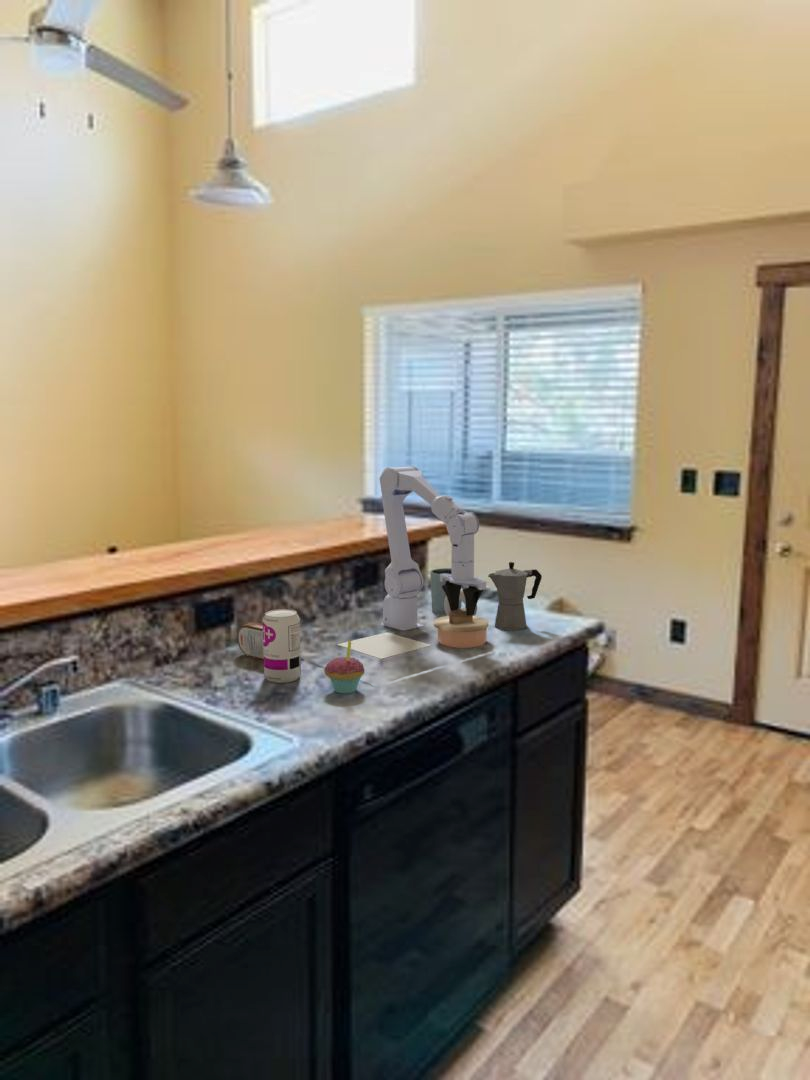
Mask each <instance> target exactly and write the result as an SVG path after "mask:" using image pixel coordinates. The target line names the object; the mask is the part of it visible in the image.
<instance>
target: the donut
mask: <svg viewBox="0 0 810 1080" xmlns="http://www.w3.org/2000/svg"><path fill="white" fill-rule="evenodd" d="M463 589H464V588H463ZM463 589H461V591H460V596H459V600H460V601H461V602H462V603H463V604H464V606H465V607H464V608H466V601H465V596H464V593H463ZM444 610H445V612H446V614H445V616H449V611H451V610H450V606H449V602H448V599H447V596H446V598H445V601H444ZM477 611H478V604H477V605H476V608H475V612H474V615H473V616H476V615H477V614H478V613H477Z"/></svg>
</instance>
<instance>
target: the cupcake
mask: <svg viewBox="0 0 810 1080" xmlns="http://www.w3.org/2000/svg"><path fill="white" fill-rule="evenodd" d="M351 641H352V638H351V637H350V638H349V640H348V641H347V642H348V648H346V650H347V651H346V656H345V657H344V656H342V657H341V656H339V657H335V658H333V659H332V660H331V661H328V663H327V664H326V666H324V670H323V671H324V675H325V676H326V677H327V678H329V680H330V681H331V684H332V687H333V690H334V692H336V693H338V694H352V693H355V692H356V691H357V690H358V687H359V686H358V685H359V683H360V681H361V678H362V676H363V675H364V674H365V667H364V664H363V663H362V662H361V661H360V660H359V659H356V658H355V657H351V651H352V649H351Z"/></svg>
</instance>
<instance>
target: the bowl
mask: <svg viewBox="0 0 810 1080" xmlns="http://www.w3.org/2000/svg"><path fill="white" fill-rule="evenodd" d="M437 642H439V644H440V645H442V646H446V647H449V648H458V649H459V648H461V649H464V648H465V649H466V648H468V649H469V648H476V647H480V646H483V645H485V644H486V642H487V628H486V629H483V630H479V631H473V632H452V631H445V630H441V629H438V628H437Z"/></svg>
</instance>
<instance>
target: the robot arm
mask: <svg viewBox="0 0 810 1080" xmlns="http://www.w3.org/2000/svg"><path fill="white" fill-rule="evenodd" d="M423 473H424V472H423V471H421V470H420V469H419V468H418V467H417V466H416V465H415V466H414V465H410V466H402V467H401V466H399V467H398V466H397V467H390V466H389V467H386V468H384V469H383V471H382V473H381V475H380V477H379V478H378V479H379V484H380V491H381V501H382V509H383V514H384V520H385V521H384V522H385V527H386V534H387V535H386V536H387V540H388V541H387V542H388V546H389V547H388V548H389V554H390V563H389V564H388V566H387V567H386V568H385V570H384V575H385V577H384V578H385V579H384V589H385V590H386V593H387V595H386V596H385V597H384V598H383V602H382V623H381V625H382V626H386V627H389V628H393V629H396V630H400V631H408V630H412V629H416V628H419V627H420V628H421V627H424V626H425V625H424V624H421V623H419V622H418V595H420V591H421V590H422V589H423V588H424V587H423V586H424V577H423V575H422V572H421V571H420V570H421V569H420V565H419V564H418V562H416V561H414V560H413V559H412V556H411V550H410V541H409V537H408V530H407V529H408V528H407V524H406V523H407V522H406V517H405V511H404V501H405V499H406V498H407V497H408V496H409V495H411V494H412V493H415V494H416V495H418V496H419V497H420V498H422V499H423V500H424V501H425V502H426V503H428V504H429V505H430V506H431V507H430V508H431V512H432V514H433V515H435V516H436V517H437V518H438V519H439V520H440V521H442V523H444V525H445V526H446V527H445V528H446V530H447V532H448V535H449V541H450V543H451V561H450V562H451V567H450V568H451V574H446V573H444V574H440V582H446V583H445V585H442V588H443V590H444V592H445V594H446V596H447V599H448V602H449V606H450V610H451V611H454V610H458V608H459V596H460V591H461V587H462V585H463V586H465V587H467V588H463V593H464V596H465V601H466V614H467V616H470V615H474V612H475V608H476V605H477V606H478V602H479V599H480V597H481V595H482V593H483V592H484V590H487V580H486V581H485V580H482V579H481V578H480V579H479V578H477V577H475V535H476V534H477V533H478V532H479V529H480V521H479V518H478V516H477V515H476V514H475V513H474V512H472V511H466V510H464V508H463V507H460V506H459V505H458V504H457V503H456V502H455V501H454V500H453V497H451V495H447V494H446V495H444V494H443V495H441V494H439V492H438V491H437V490H436V489H435V488H434V487H433V485H431V484H430V483H429V482H428V481H427V480H426V479H425V477H424V474H423Z"/></svg>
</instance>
